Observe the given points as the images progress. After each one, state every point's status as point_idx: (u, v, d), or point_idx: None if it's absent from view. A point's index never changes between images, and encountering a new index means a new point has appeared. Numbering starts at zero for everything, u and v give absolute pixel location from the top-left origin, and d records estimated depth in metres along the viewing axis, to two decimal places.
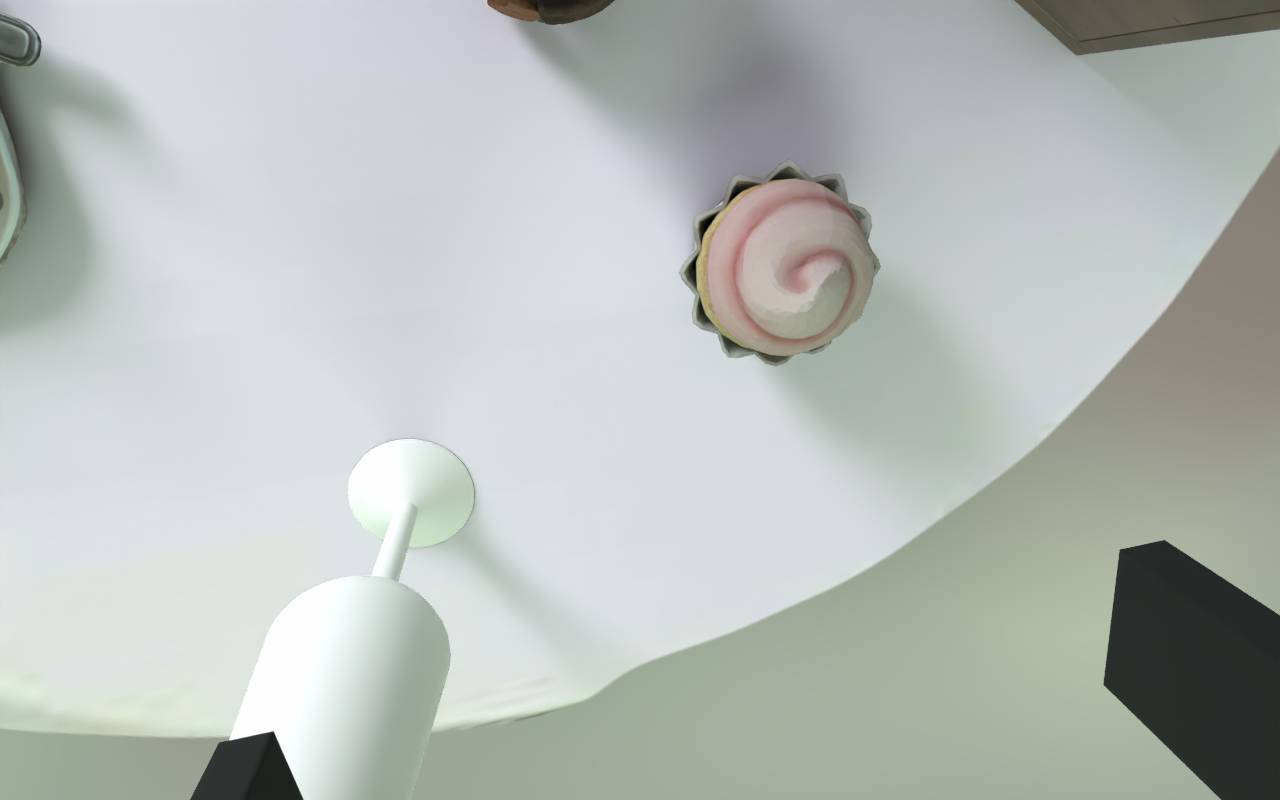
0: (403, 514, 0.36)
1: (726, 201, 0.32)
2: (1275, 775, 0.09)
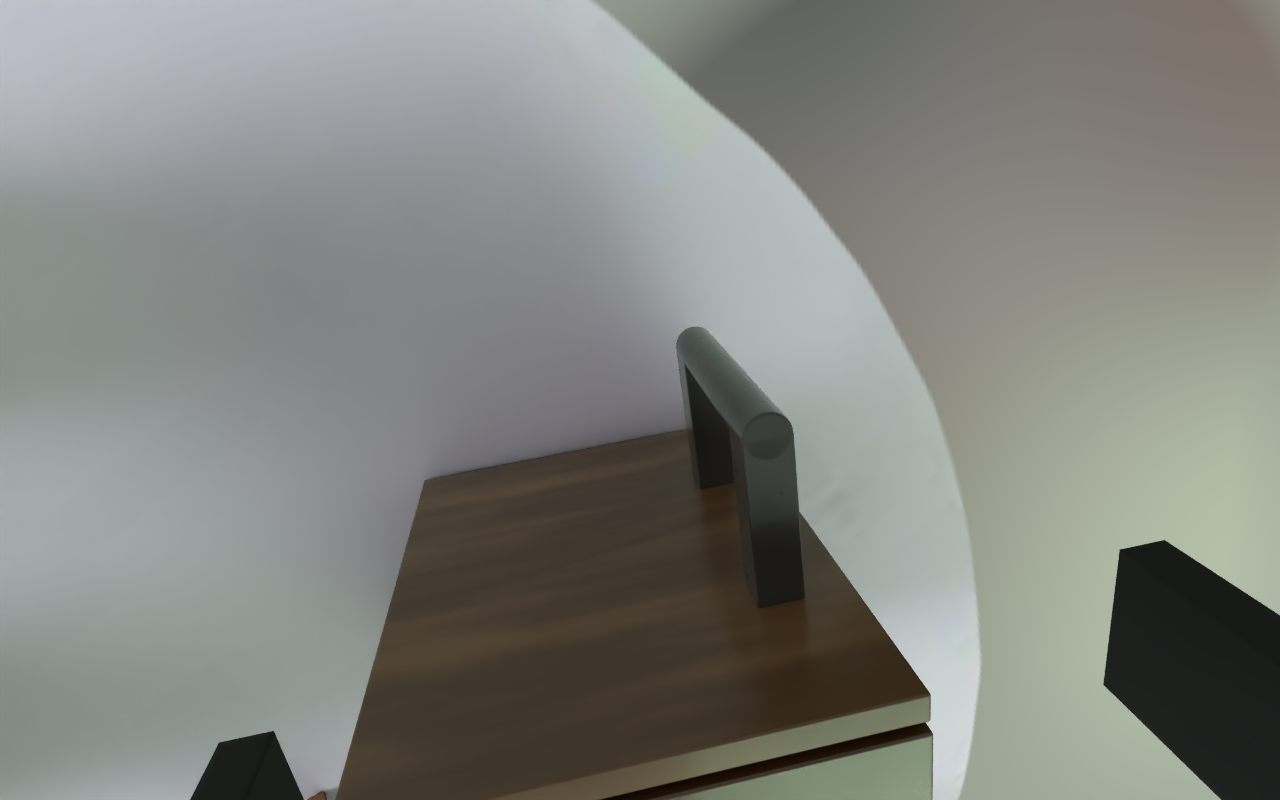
0: None
1: None
2: (1274, 776, 0.09)
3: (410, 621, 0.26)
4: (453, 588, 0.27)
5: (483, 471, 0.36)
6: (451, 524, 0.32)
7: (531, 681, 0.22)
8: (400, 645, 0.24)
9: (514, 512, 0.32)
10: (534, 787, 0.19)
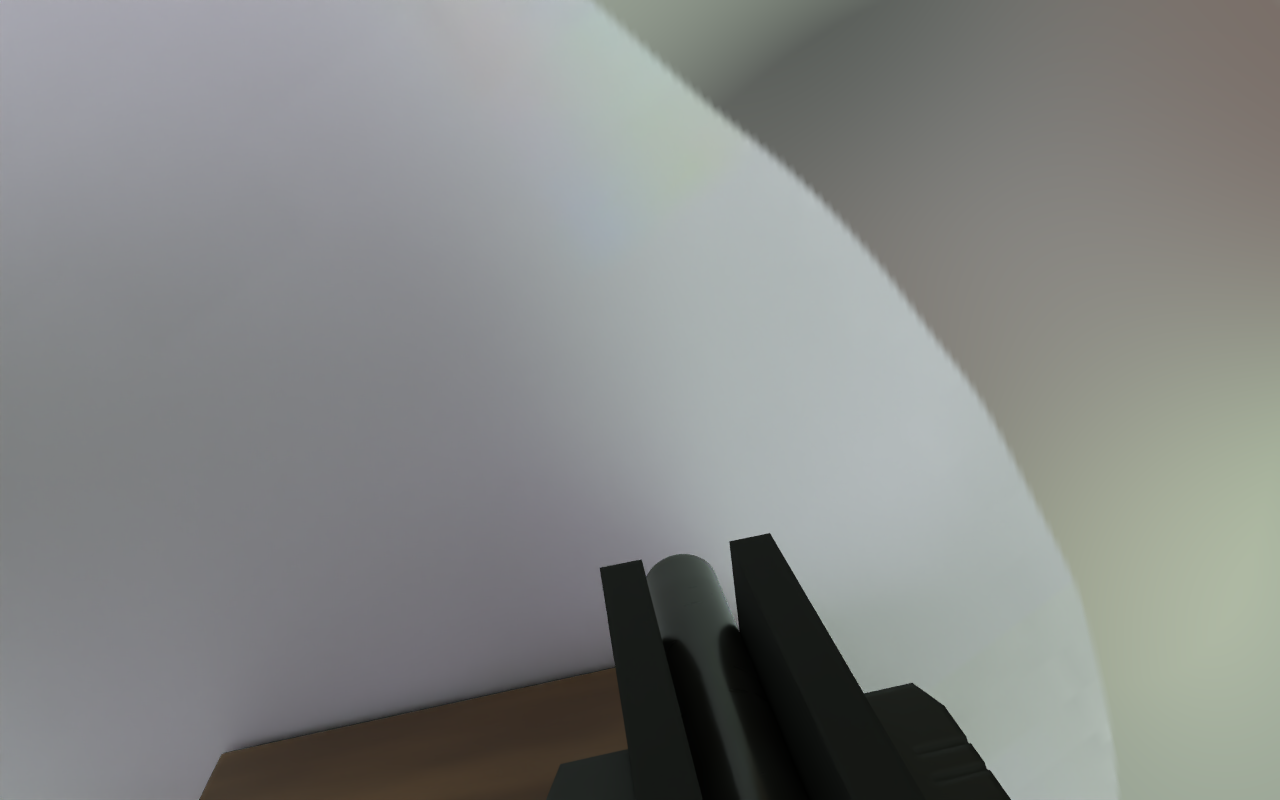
0: None
1: None
2: (786, 730, 0.11)
3: None
4: None
5: (321, 739, 0.21)
6: None
7: None
8: None
9: None
10: None
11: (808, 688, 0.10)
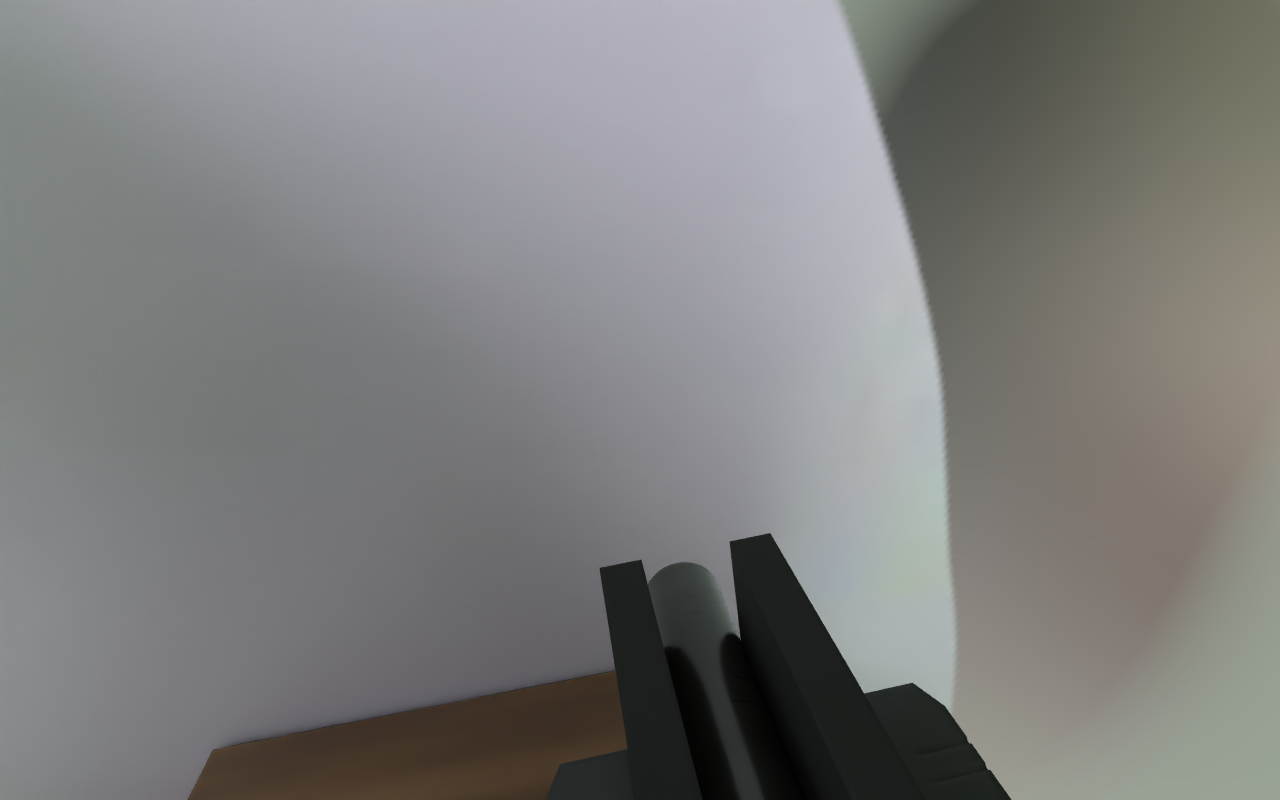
0: None
1: None
2: (786, 730, 0.11)
3: None
4: None
5: (313, 738, 0.21)
6: None
7: None
8: None
9: None
10: None
11: (809, 688, 0.10)
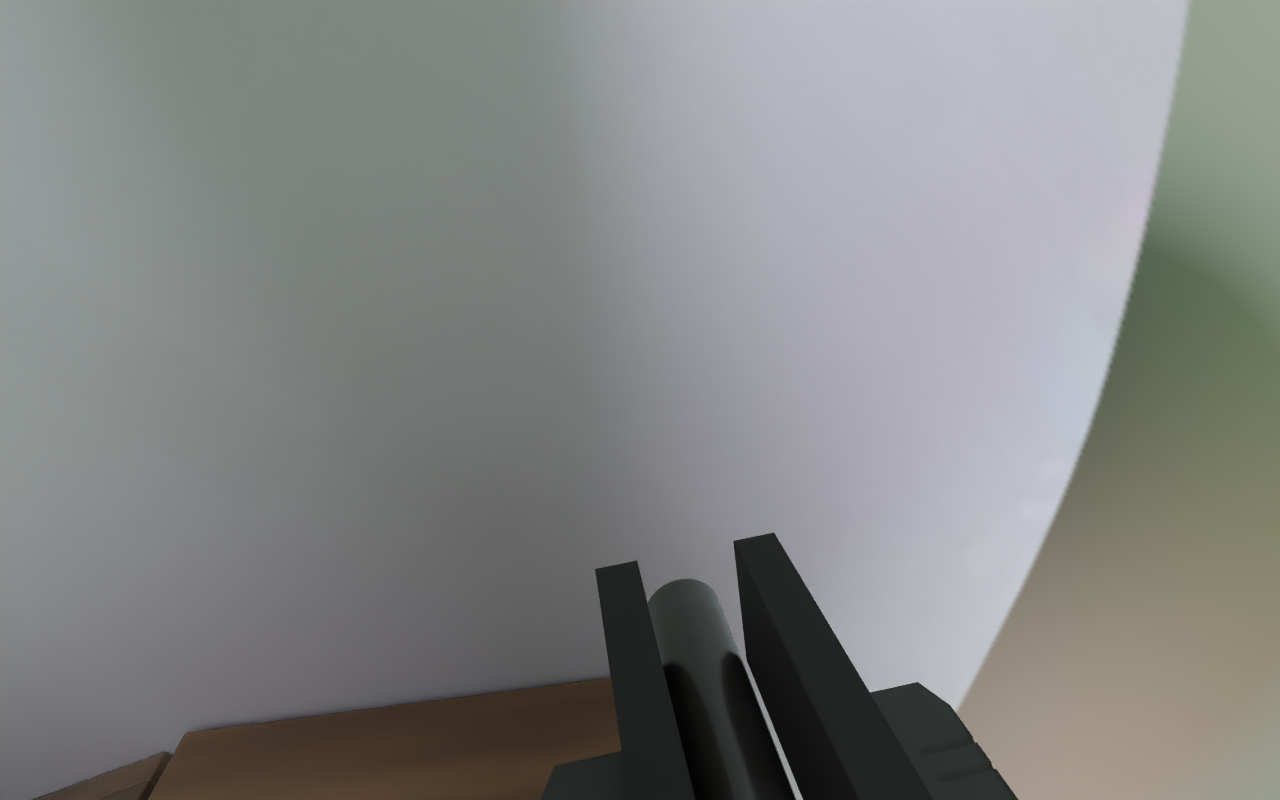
0: None
1: None
2: (792, 729, 0.11)
3: None
4: None
5: (290, 728, 0.21)
6: None
7: None
8: None
9: None
10: None
11: (814, 687, 0.10)
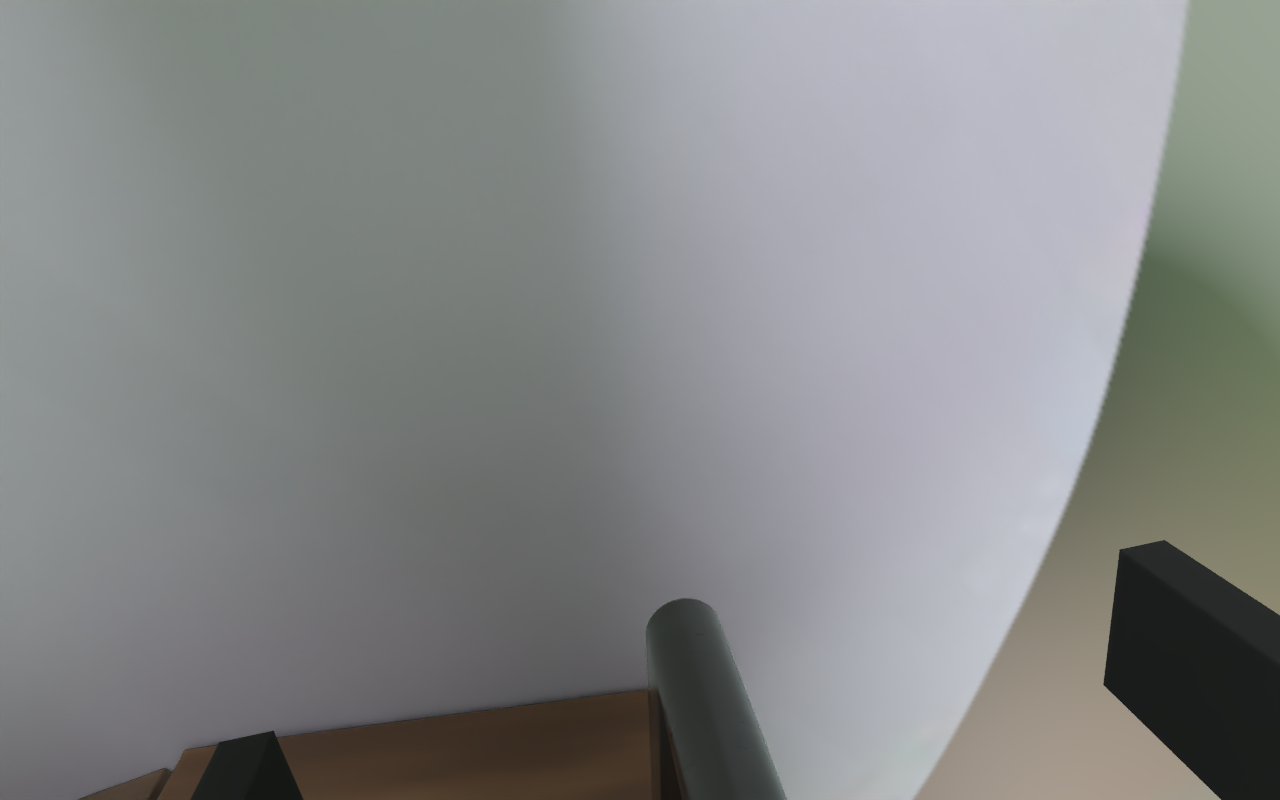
0: None
1: None
2: (1275, 775, 0.09)
3: None
4: None
5: (290, 744, 0.21)
6: None
7: None
8: None
9: None
10: None
11: None
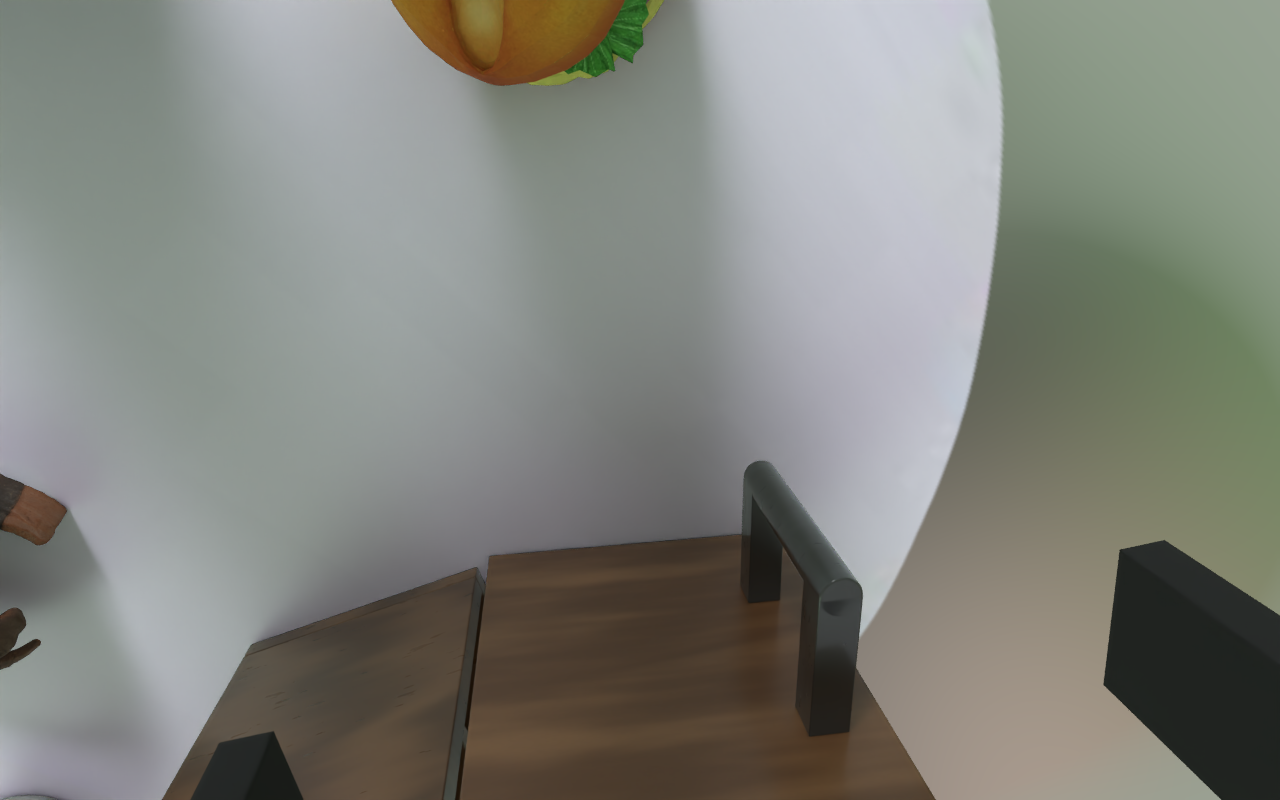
0: None
1: None
2: (1274, 775, 0.09)
3: (495, 708, 0.29)
4: (530, 678, 0.30)
5: (544, 554, 0.39)
6: (520, 608, 0.35)
7: (612, 784, 0.25)
8: (489, 731, 0.28)
9: (578, 604, 0.35)
10: None
11: None
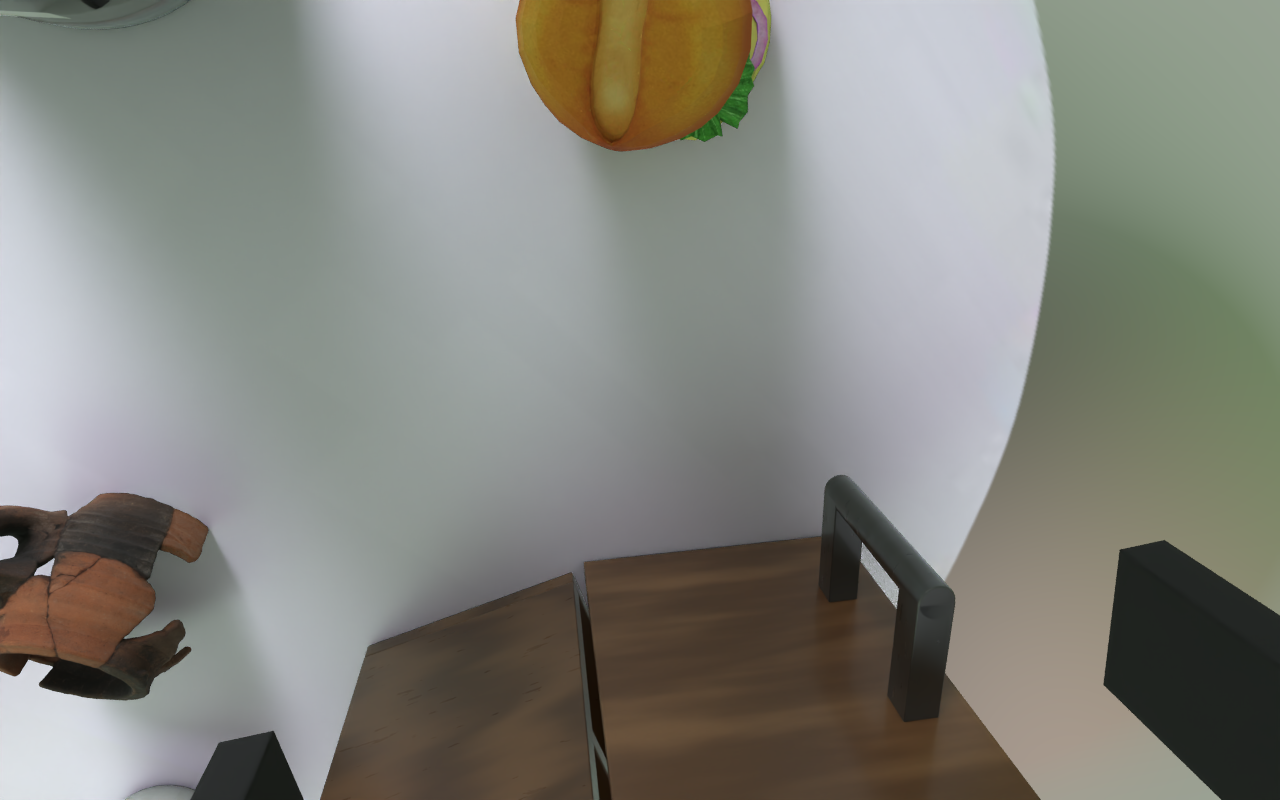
0: None
1: None
2: (1275, 775, 0.09)
3: (622, 702, 0.33)
4: (647, 674, 0.34)
5: (634, 559, 0.43)
6: (624, 611, 0.39)
7: (740, 767, 0.29)
8: (622, 723, 0.31)
9: (675, 606, 0.39)
10: None
11: None
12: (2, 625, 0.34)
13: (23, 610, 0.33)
